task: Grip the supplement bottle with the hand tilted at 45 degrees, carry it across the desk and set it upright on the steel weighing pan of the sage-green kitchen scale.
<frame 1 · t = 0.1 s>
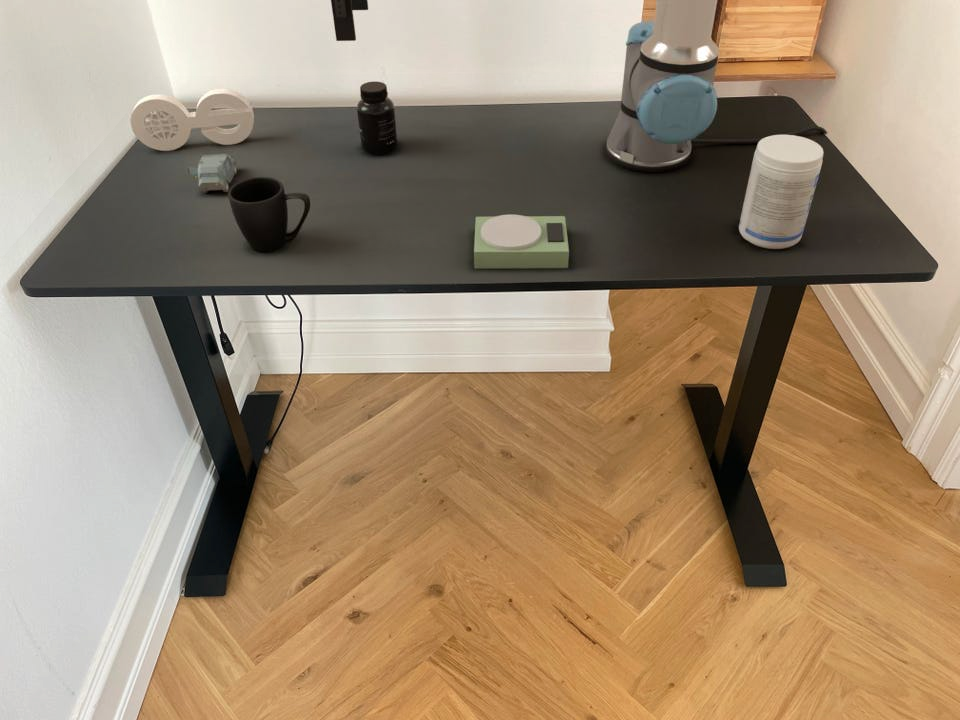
hand: (353, 24, 117), 28 cm above the table, tool pointing down, fingers open, 13 cm apart
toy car: (215, 183, 139), on the table
supplement bottle: (380, 149, 148), on the table
scale: (520, 250, 121), on the table
mug: (280, 245, 124), on the table
supplement tub: (768, 235, 123), on the table
white double disc plate: (200, 146, 151), on the table
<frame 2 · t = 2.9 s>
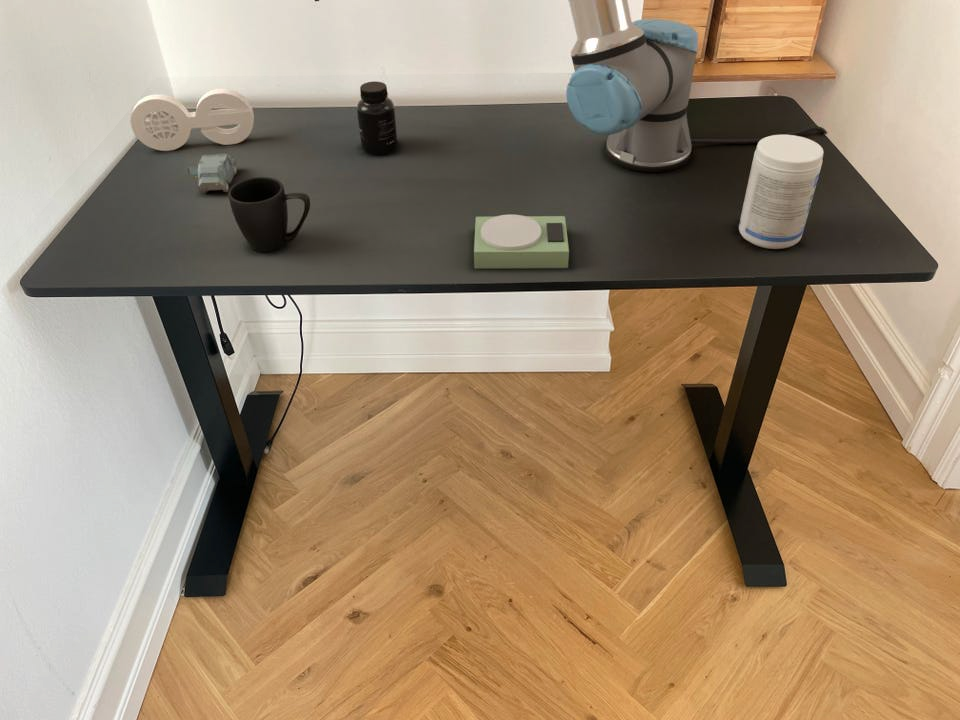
nothing on the table moved.
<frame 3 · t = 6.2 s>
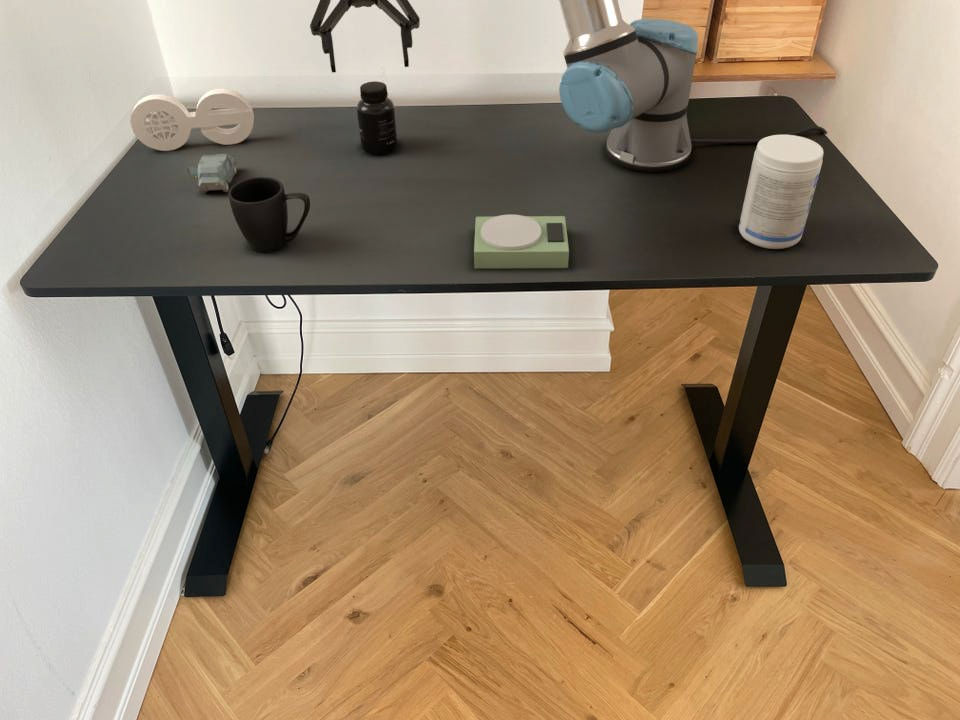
hand: (370, 66, 145), 13 cm above the table, tool tilted 45°, fingers open, 13 cm apart
nothing on the table moved.
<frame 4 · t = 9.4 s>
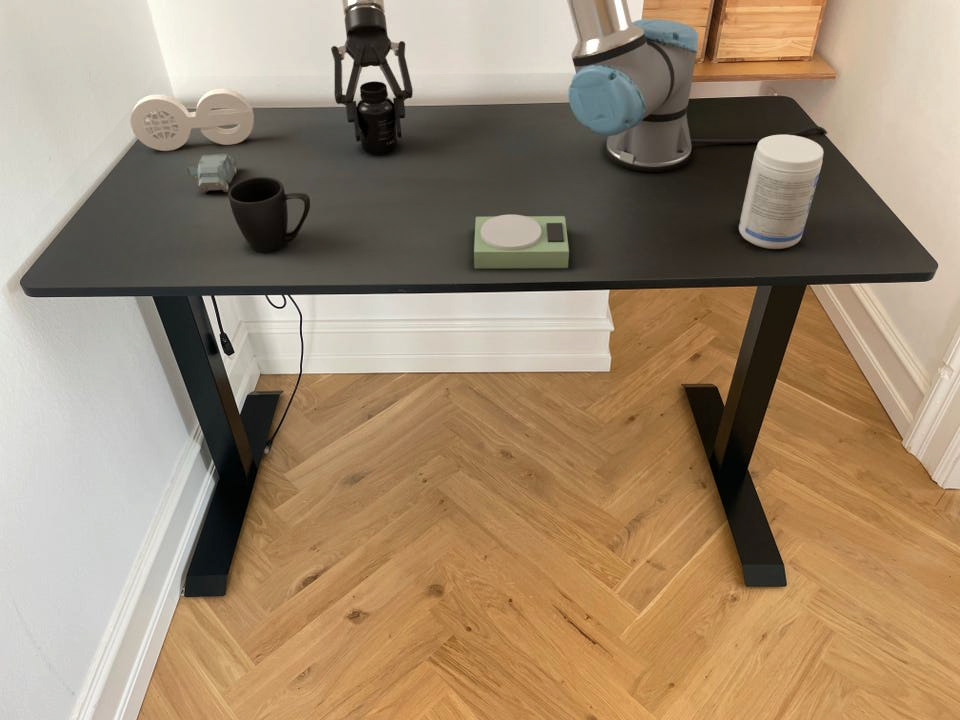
hand: (378, 136, 143), 4 cm above the table, tool tilted 45°, fingers closed on supplement bottle, 7 cm apart
supplement bottle: (380, 149, 148), on the table, touching gripper
everything else where it was.
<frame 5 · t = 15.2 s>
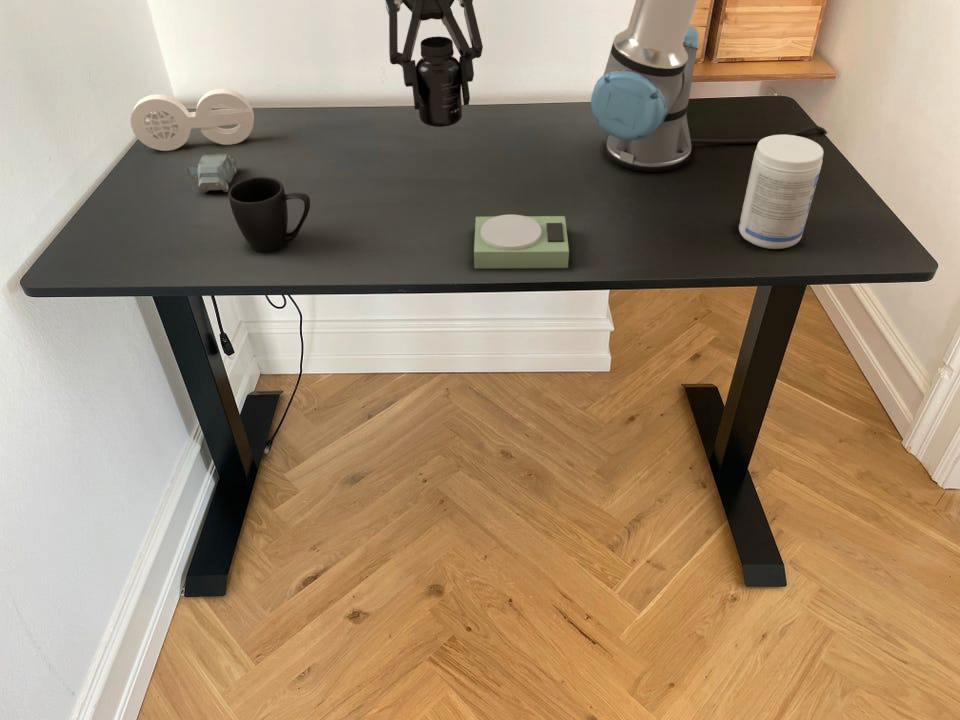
hand: (442, 103, 118), 18 cm above the table, tool tilted 45°, fingers closed on supplement bottle, 7 cm apart
supplement bottle: (441, 119, 124), point 14 cm above the table, touching gripper
everything else where it was.
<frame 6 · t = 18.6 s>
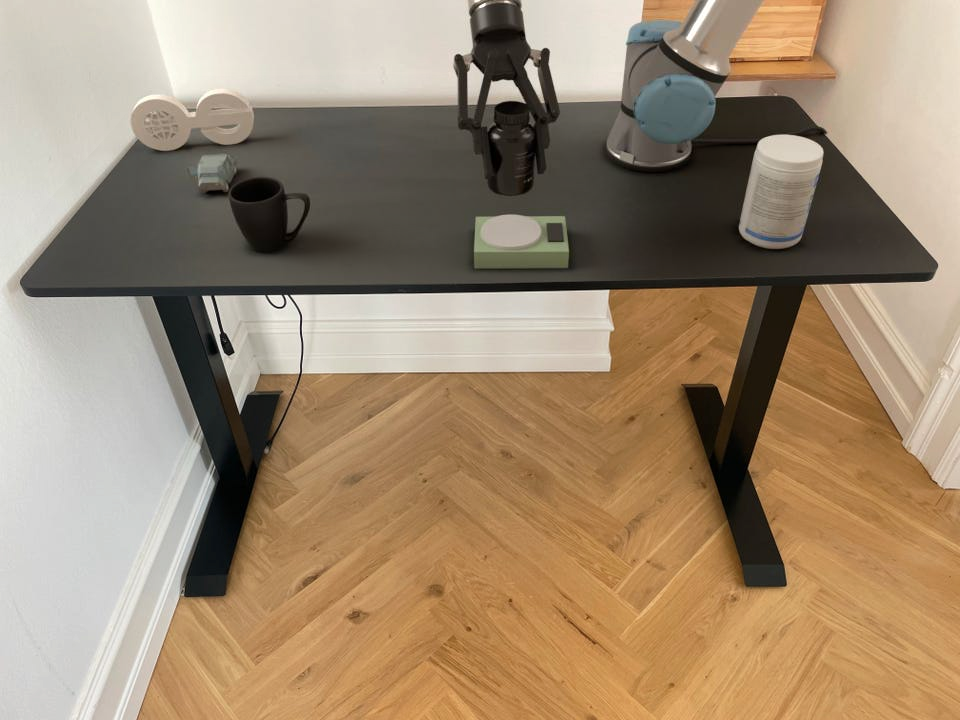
hand: (515, 173, 109), 15 cm above the table, tool tilted 45°, fingers closed on supplement bottle, 7 cm apart
supplement bottle: (510, 187, 114), point 11 cm above the table, touching gripper
everything else where it was.
when the fingers open (7 cm above the table, at t = 21.0 s): supplement bottle stays where it is, resting on scale.
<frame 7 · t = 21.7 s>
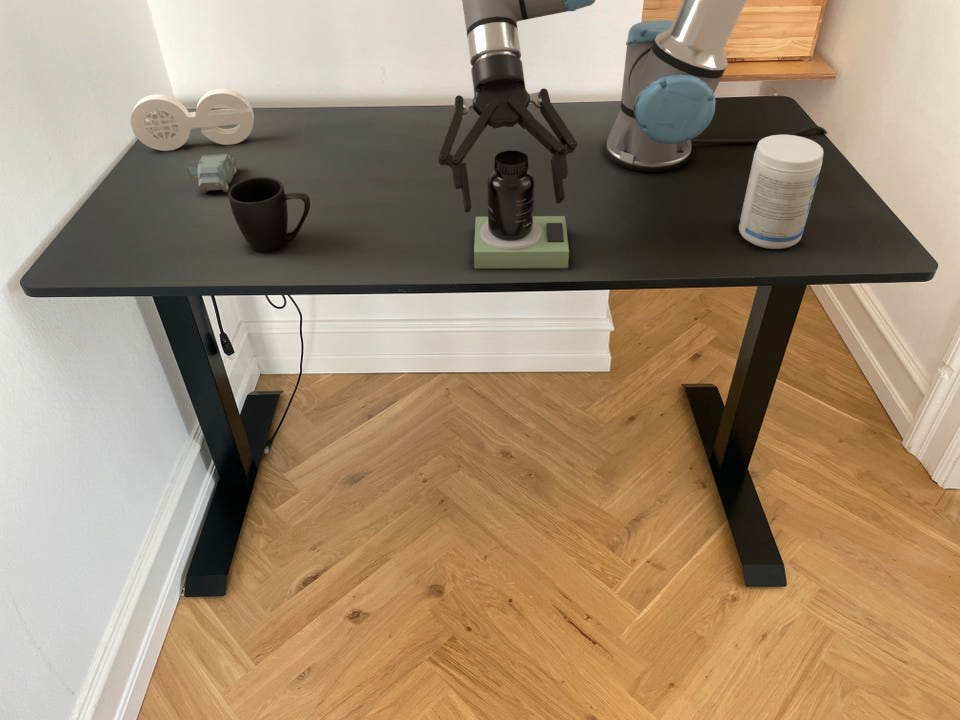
hand: (514, 205, 113), 9 cm above the table, tool tilted 45°, fingers open, 13 cm apart
supplement bottle: (510, 231, 119), point 3 cm above the table, touching scale
everything else where it was.
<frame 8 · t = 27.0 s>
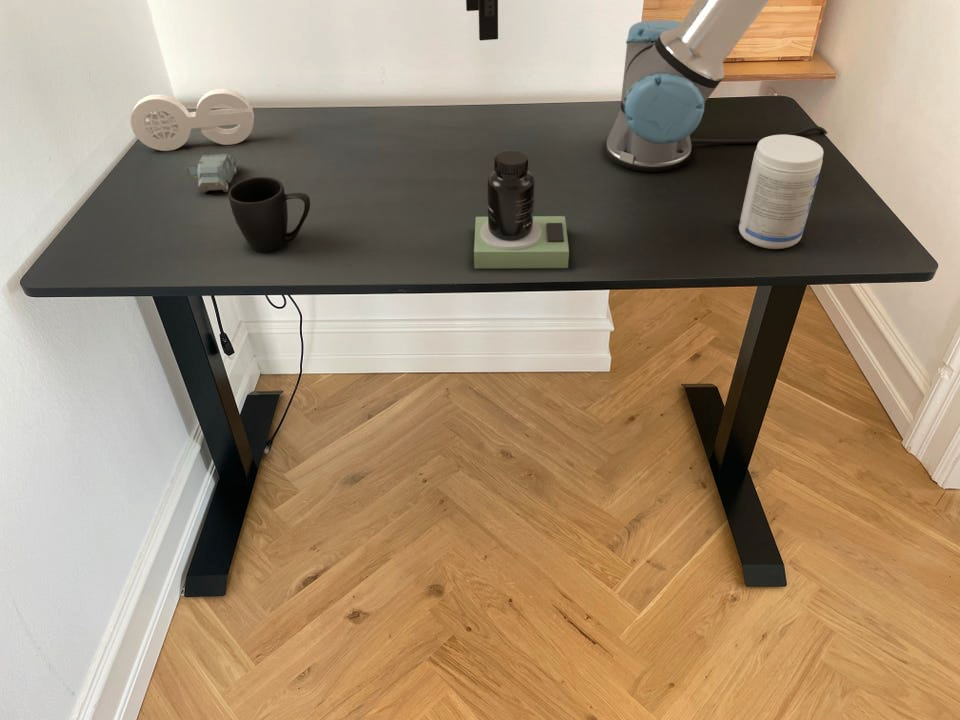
hand: (481, 24, 120), 27 cm above the table, tool pointing down, fingers open, 13 cm apart
nothing on the table moved.
at the end: supplement bottle inside the target area on the scale (0.1 cm from its centre), point 3.4 cm above the scale's base; supplement bottle tilted 0°; the gripper is holding nothing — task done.
